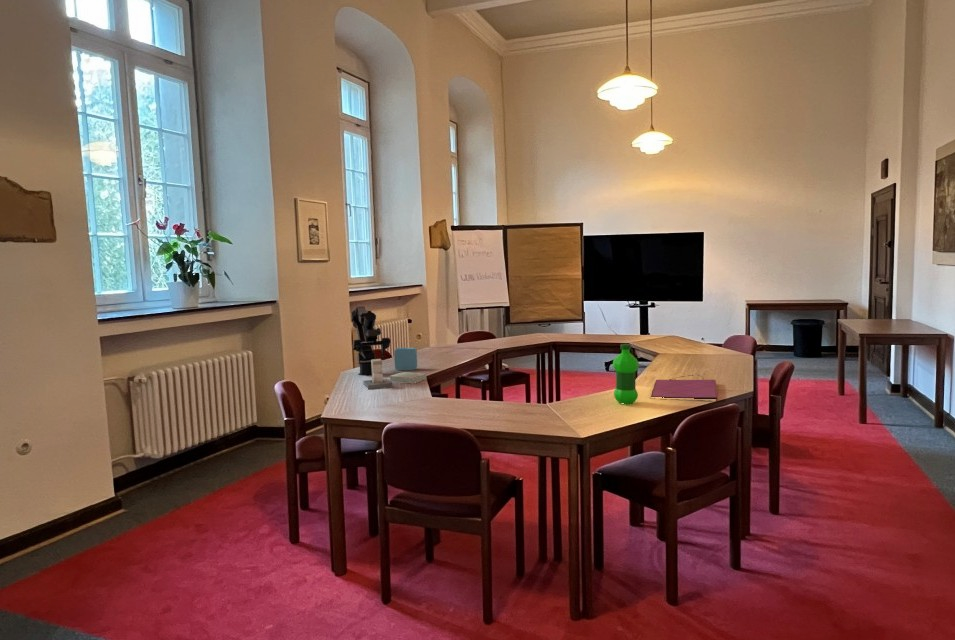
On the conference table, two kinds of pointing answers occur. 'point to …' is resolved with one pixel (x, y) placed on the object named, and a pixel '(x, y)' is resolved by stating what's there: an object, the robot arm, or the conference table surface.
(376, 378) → the cream block
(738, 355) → the conference table surface
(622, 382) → the plastic bottle
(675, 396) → the maroon hardcover notebook
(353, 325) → the robot arm
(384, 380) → the pocket holder
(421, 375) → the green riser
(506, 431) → the conference table surface
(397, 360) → the light blue square slab
